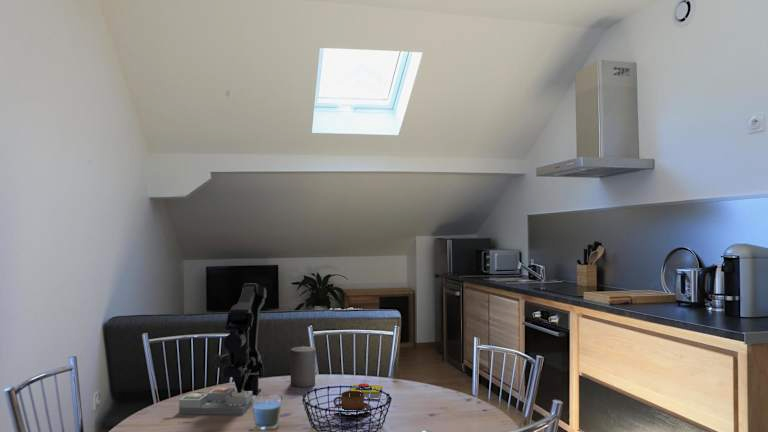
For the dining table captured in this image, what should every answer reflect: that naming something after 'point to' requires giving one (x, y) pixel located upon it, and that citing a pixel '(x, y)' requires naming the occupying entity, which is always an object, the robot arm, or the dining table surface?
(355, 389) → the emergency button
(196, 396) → the sage button
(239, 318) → the robot arm
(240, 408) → the button panel
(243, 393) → the cream button
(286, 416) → the dining table surface
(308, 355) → the pillar candle
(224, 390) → the terracotta button
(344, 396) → the cup and saucer
